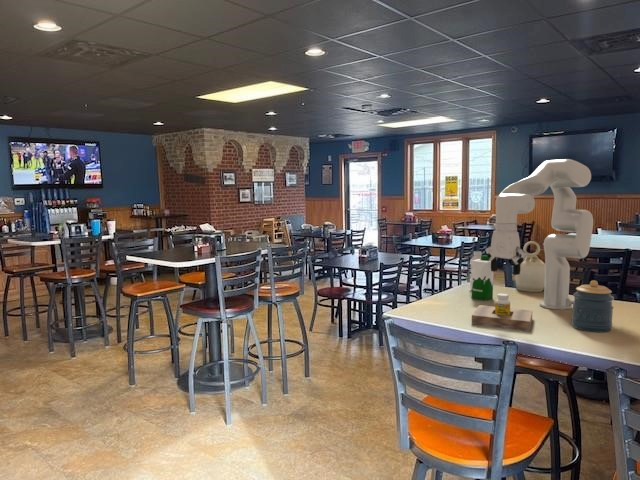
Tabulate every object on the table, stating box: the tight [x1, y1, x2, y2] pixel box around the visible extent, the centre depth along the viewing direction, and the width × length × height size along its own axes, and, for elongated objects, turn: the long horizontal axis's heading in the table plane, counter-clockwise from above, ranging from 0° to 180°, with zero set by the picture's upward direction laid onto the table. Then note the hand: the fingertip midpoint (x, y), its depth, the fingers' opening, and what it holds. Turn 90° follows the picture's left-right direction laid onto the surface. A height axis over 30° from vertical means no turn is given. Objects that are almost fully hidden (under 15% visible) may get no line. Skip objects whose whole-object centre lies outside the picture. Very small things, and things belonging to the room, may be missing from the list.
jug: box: [514, 240, 545, 293], centre depth 241 cm, size 15×16×25 cm
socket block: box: [471, 304, 534, 332], centre depth 181 cm, size 20×18×4 cm
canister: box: [571, 279, 615, 333], centre depth 173 cm, size 13×13×18 cm
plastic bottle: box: [469, 250, 483, 291], centre depth 238 cm, size 6×7×20 cm
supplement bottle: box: [494, 293, 511, 316], centre depth 181 cm, size 5×5×10 cm
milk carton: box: [470, 254, 495, 301], centre depth 221 cm, size 9×9×20 cm
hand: (505, 272), depth 180 cm, fingers open, 9 cm apart
